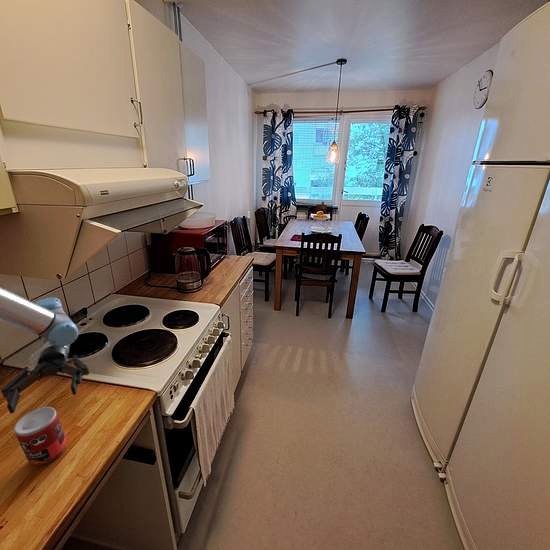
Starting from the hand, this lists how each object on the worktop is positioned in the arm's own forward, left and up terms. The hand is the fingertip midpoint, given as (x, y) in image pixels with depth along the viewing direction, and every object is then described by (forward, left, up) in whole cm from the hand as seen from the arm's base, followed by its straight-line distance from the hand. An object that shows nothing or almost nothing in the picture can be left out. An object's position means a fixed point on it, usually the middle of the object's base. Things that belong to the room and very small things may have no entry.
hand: (43, 399), depth 77 cm
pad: (+5, -8, -10) cm, 14 cm away
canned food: (+5, -8, -9) cm, 13 cm away
